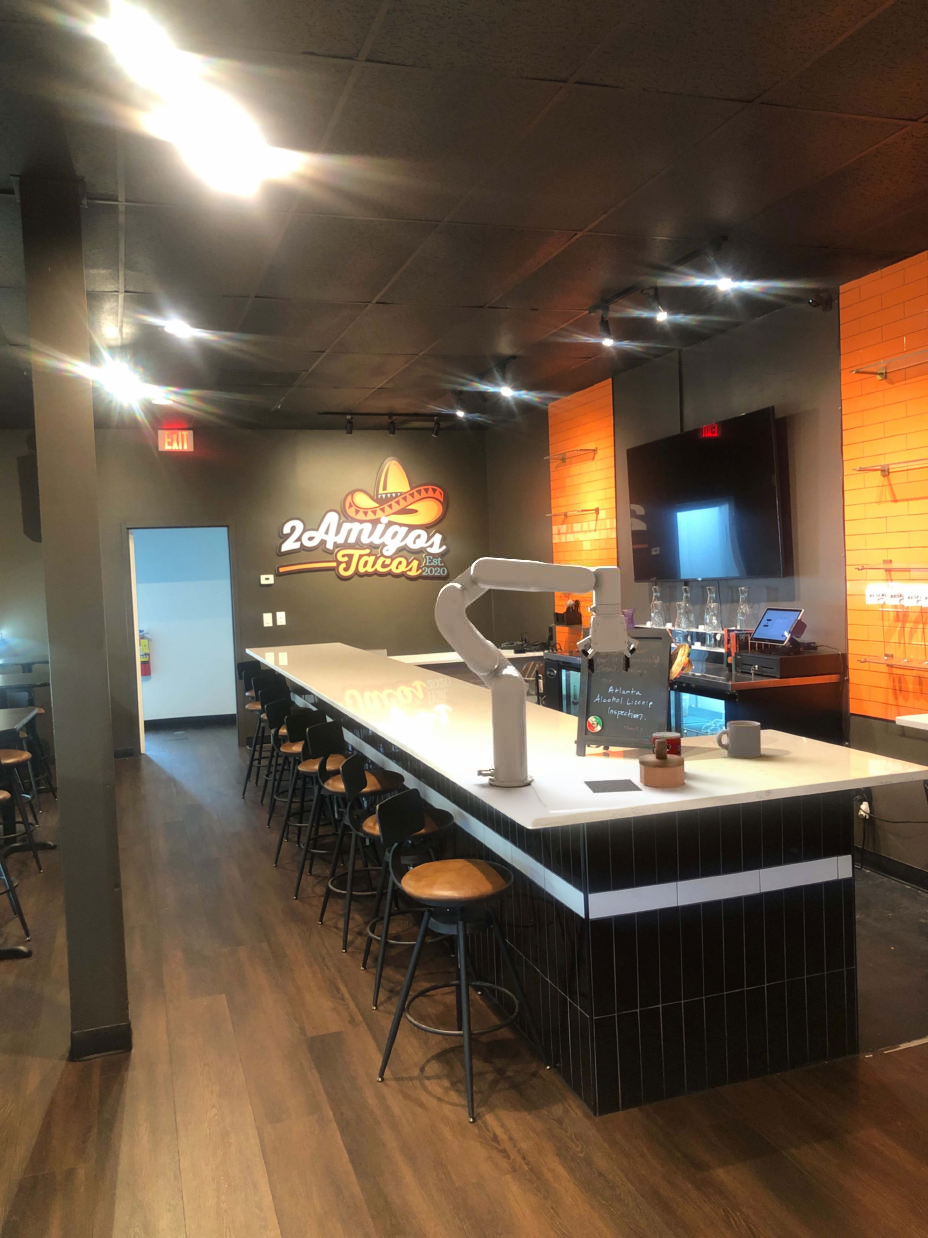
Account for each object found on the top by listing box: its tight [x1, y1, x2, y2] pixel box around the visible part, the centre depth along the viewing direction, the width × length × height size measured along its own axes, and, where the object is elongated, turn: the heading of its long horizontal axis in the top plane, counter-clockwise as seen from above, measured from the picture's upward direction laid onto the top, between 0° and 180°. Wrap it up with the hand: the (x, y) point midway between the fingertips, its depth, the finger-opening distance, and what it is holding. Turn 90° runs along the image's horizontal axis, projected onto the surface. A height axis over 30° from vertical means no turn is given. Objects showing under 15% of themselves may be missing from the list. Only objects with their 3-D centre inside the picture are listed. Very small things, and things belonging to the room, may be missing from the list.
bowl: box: [639, 763, 686, 788], centre depth 245 cm, size 11×11×6 cm
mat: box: [583, 778, 643, 794], centre depth 243 cm, size 13×13×1 cm
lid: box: [638, 739, 685, 768], centre depth 244 cm, size 12×12×6 cm
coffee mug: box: [716, 720, 762, 759], centre depth 280 cm, size 13×10×10 cm
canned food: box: [652, 731, 682, 757], centre depth 260 cm, size 8×8×11 cm
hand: (608, 671), depth 251 cm, fingers open, 9 cm apart
